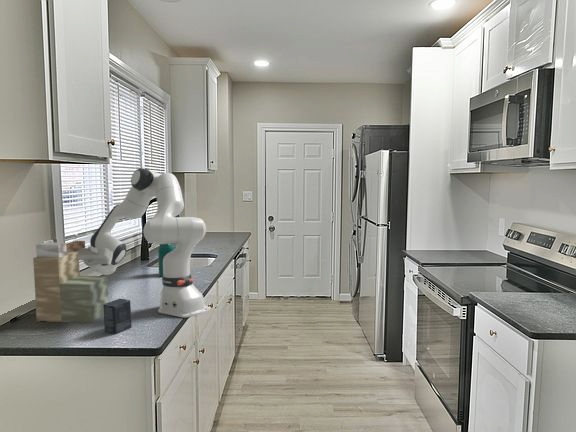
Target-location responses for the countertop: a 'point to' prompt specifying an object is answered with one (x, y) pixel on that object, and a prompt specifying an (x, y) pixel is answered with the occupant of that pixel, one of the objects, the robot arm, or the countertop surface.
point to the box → (117, 316)
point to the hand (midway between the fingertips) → (79, 247)
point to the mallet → (58, 249)
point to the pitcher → (163, 255)
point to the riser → (67, 291)
